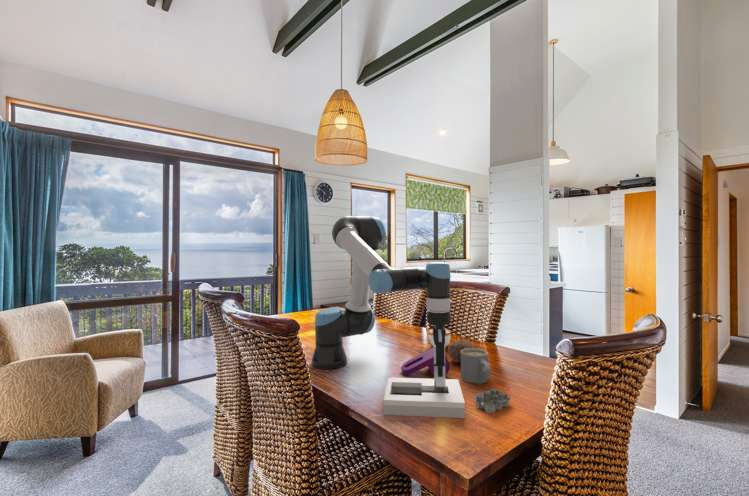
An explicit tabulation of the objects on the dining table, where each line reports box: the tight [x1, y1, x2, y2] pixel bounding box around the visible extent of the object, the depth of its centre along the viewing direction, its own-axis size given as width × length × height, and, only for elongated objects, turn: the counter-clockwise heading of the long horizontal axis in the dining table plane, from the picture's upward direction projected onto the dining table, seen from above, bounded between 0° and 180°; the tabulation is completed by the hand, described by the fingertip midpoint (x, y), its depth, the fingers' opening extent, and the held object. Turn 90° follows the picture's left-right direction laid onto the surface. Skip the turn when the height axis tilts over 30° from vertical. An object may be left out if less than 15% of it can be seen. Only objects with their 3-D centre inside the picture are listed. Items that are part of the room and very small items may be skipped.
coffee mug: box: [460, 347, 491, 384], centre depth 133 cm, size 13×10×10 cm
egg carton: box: [473, 387, 512, 414], centre depth 112 cm, size 11×8×4 cm
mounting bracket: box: [400, 346, 451, 376], centre depth 142 cm, size 9×8×18 cm
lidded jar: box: [428, 328, 452, 349], centre depth 176 cm, size 11×11×9 cm
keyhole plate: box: [383, 377, 466, 419], centre depth 115 cm, size 24×18×4 cm
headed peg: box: [433, 345, 447, 393], centre depth 114 cm, size 8×8×18 cm
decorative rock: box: [447, 338, 476, 364], centre depth 153 cm, size 13×11×10 cm
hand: (439, 383), depth 114 cm, fingers closed on headed peg, 3 cm apart
